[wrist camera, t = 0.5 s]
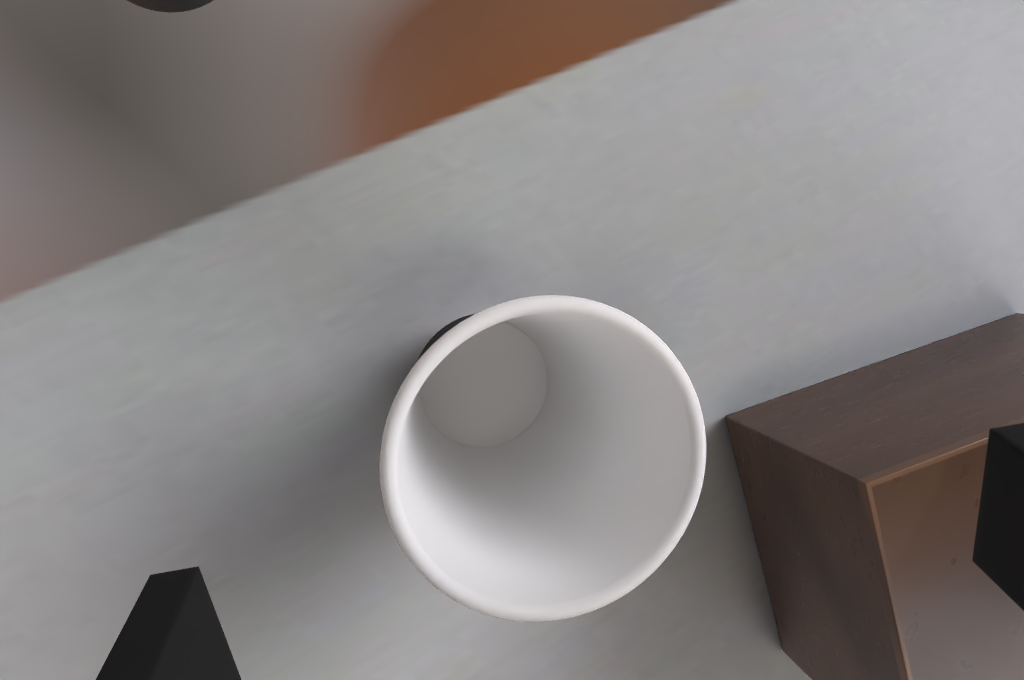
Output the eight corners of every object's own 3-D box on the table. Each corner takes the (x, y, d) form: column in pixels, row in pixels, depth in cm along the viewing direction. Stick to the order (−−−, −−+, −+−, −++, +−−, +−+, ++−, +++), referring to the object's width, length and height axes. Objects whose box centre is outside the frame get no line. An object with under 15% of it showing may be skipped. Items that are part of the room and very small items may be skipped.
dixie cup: (356, 464, 28) (347, 602, 17) (401, 255, 27) (420, 261, 16) (557, 497, 29) (665, 642, 19) (604, 301, 29) (743, 334, 18)
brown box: (721, 414, 30) (865, 483, 21) (1018, 309, 32) (1260, 333, 23) (781, 654, 32) (934, 808, 23) (1058, 542, 34) (1295, 645, 25)
